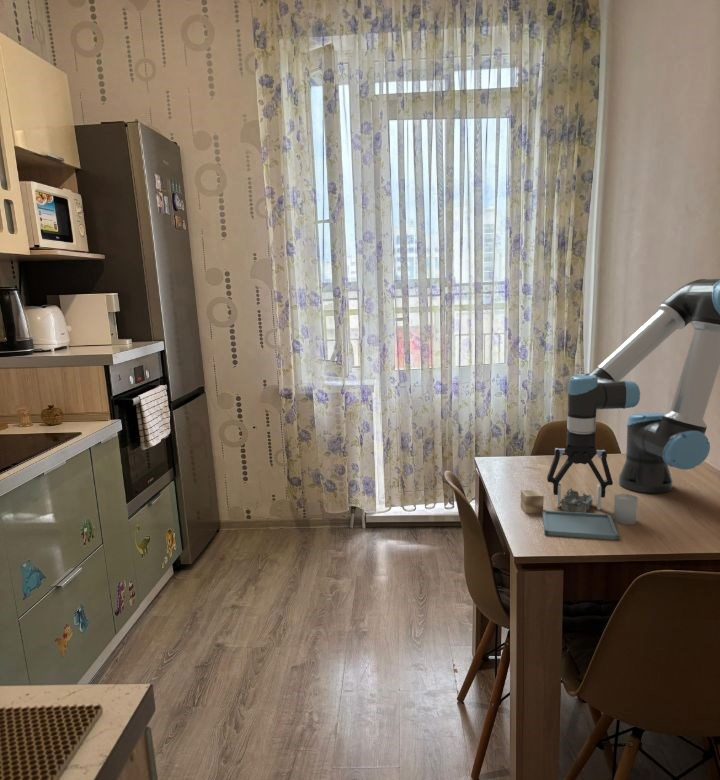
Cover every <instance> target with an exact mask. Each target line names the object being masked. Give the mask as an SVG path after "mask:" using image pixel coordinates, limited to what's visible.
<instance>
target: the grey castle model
mask: <svg viewBox="0 0 720 780" xmlns="http://www.w3.org/2000/svg"><path fill="white" fill-rule="evenodd" d="M594 497H595V495H591V494H585V493H582V495H581V494H579V491H577V490H574V489H572V487H570V488H568V490H567V491H566V494H564V496H563V497H562V498H561V501H560V506H561V507H560V509H561V511H566V512H582V513H587V510H590V507H592V506H593V499H594Z"/></svg>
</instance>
